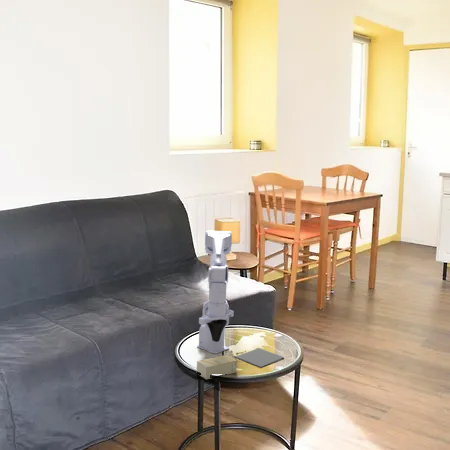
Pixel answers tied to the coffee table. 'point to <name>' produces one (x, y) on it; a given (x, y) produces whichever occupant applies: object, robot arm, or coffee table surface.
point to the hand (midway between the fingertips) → (215, 340)
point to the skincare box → (217, 366)
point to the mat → (259, 357)
